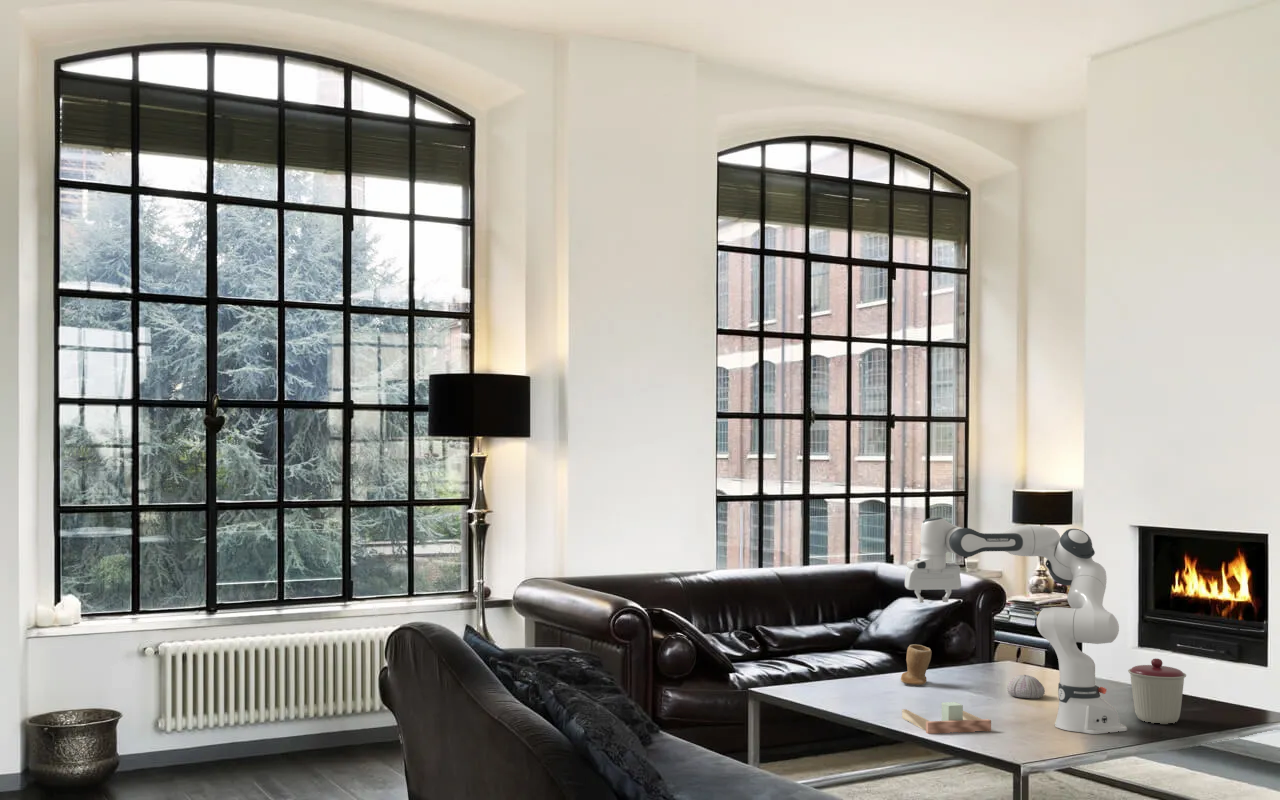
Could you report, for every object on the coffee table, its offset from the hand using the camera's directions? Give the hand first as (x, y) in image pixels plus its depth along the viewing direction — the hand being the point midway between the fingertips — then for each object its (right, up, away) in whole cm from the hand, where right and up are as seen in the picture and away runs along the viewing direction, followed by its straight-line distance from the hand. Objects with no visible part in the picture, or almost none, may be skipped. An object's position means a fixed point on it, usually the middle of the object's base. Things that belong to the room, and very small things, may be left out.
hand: (933, 602), depth 417 cm
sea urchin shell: (+40, -39, +21) cm, 60 cm away
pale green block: (-2, -36, -33) cm, 49 cm away
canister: (+71, -37, -19) cm, 83 cm away
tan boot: (+4, -40, +44) cm, 59 cm away
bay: (-3, -36, -28) cm, 45 cm away
